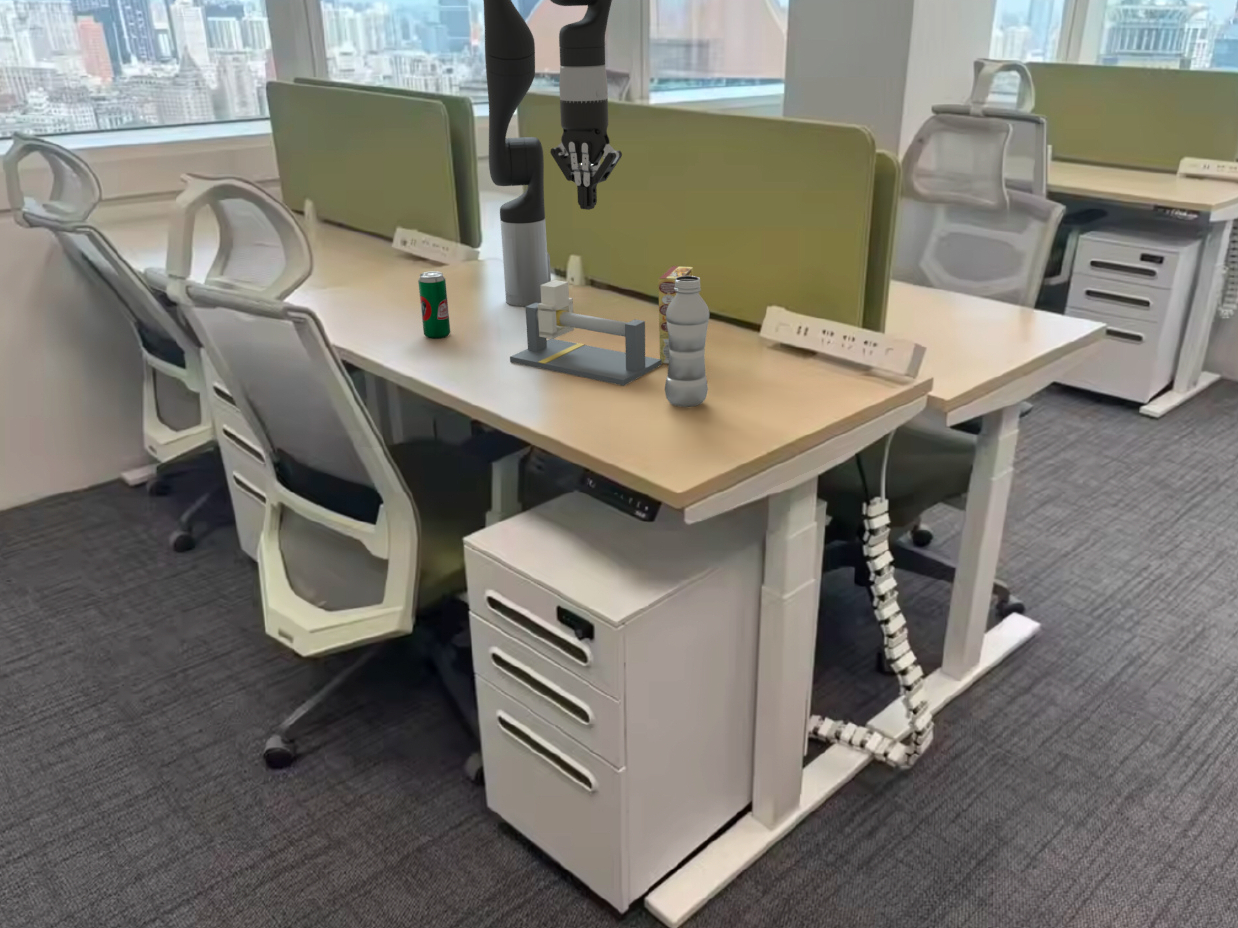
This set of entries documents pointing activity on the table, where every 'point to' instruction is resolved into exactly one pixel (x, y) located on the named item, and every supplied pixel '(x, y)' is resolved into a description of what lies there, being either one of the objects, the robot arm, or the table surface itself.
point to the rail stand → (588, 349)
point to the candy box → (665, 299)
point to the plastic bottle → (687, 344)
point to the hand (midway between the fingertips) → (587, 208)
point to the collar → (553, 308)
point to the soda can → (434, 305)
